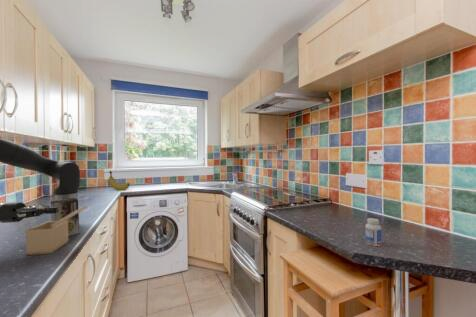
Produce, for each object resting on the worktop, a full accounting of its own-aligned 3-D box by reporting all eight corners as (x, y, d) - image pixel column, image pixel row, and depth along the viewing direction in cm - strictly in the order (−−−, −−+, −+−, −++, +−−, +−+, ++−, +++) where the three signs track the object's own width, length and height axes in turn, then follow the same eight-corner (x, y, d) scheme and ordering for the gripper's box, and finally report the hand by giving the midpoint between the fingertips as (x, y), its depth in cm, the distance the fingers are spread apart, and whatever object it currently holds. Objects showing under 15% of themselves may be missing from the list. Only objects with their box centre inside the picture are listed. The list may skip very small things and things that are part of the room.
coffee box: (75, 230, 106) (74, 197, 105) (79, 233, 102) (78, 199, 101) (51, 236, 99) (50, 200, 98) (54, 239, 95) (53, 202, 94)
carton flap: (66, 217, 91) (86, 205, 93) (67, 219, 92) (87, 207, 93) (50, 225, 82) (73, 211, 83) (51, 227, 82) (74, 213, 83)
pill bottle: (378, 241, 89) (378, 217, 89) (383, 247, 84) (384, 222, 83) (363, 240, 90) (363, 217, 90) (368, 245, 85) (368, 221, 85)
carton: (46, 243, 91) (46, 221, 91) (68, 241, 92) (67, 220, 92) (26, 255, 80) (25, 231, 80) (51, 253, 81) (50, 229, 81)
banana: (131, 189, 227) (130, 170, 227) (127, 190, 222) (127, 171, 221) (111, 189, 230) (110, 170, 230) (107, 190, 224) (106, 171, 224)
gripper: (-11, 207, 77) (46, 204, 80) (19, 199, 90) (66, 197, 93) (-10, 228, 77) (46, 224, 80) (19, 217, 90) (67, 214, 93)
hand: (57, 210), depth 86 cm, fingers closed
